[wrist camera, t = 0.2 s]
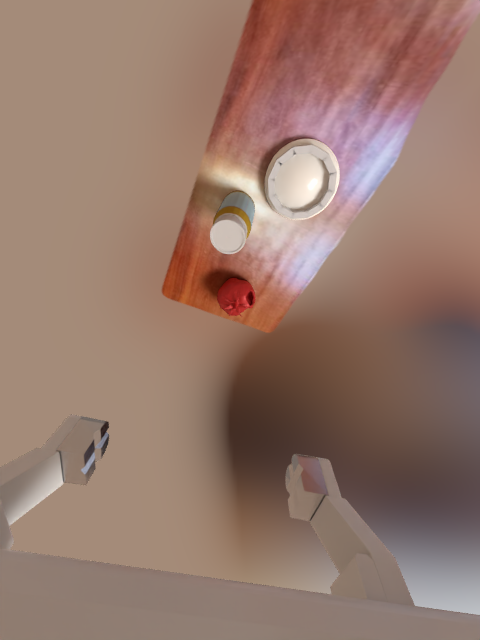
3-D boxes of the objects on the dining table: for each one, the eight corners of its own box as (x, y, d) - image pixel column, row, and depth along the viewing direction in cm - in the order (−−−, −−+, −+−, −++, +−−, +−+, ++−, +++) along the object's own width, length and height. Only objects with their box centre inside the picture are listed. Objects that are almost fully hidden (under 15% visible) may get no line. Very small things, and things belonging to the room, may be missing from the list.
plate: (318, 118, 43) (320, 119, 41) (350, 191, 50) (352, 195, 48) (251, 172, 49) (249, 175, 48) (287, 230, 56) (287, 234, 55)
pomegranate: (215, 295, 71) (207, 317, 64) (228, 267, 65) (220, 288, 58) (247, 309, 73) (243, 331, 66) (263, 283, 66) (259, 305, 59)
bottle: (216, 210, 55) (200, 239, 44) (235, 182, 51) (222, 207, 40) (241, 230, 57) (232, 263, 46) (261, 205, 53) (256, 235, 42)
